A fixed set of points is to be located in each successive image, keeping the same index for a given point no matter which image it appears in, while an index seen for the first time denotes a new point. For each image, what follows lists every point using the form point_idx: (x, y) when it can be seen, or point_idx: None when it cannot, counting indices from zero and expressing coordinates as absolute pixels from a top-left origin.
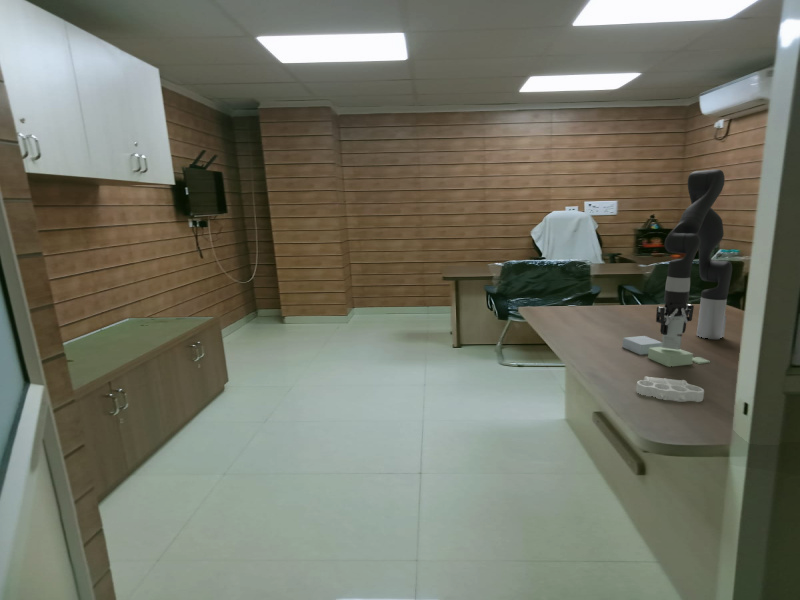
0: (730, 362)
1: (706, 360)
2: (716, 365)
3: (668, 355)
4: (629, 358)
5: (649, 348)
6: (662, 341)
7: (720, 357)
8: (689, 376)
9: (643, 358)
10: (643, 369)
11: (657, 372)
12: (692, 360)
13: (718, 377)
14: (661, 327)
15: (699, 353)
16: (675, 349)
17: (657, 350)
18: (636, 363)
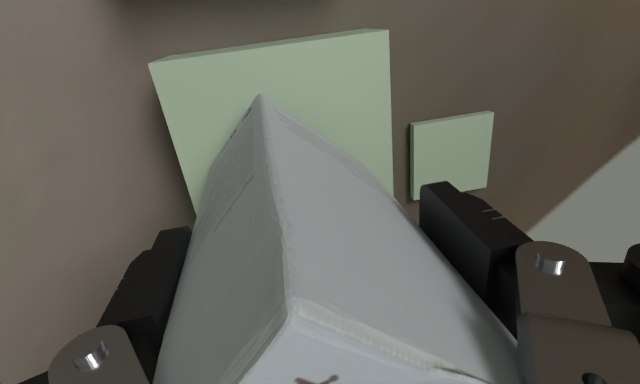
0: (574, 187)
1: (478, 175)
2: None
3: None
4: (11, 40)
5: (151, 69)
6: (203, 194)
7: (611, 109)
8: None
9: (131, 57)
10: (45, 250)
11: (111, 290)
12: (412, 159)
13: None
14: (115, 315)
15: (581, 15)
16: (347, 134)
17: (189, 142)
18: (34, 153)
